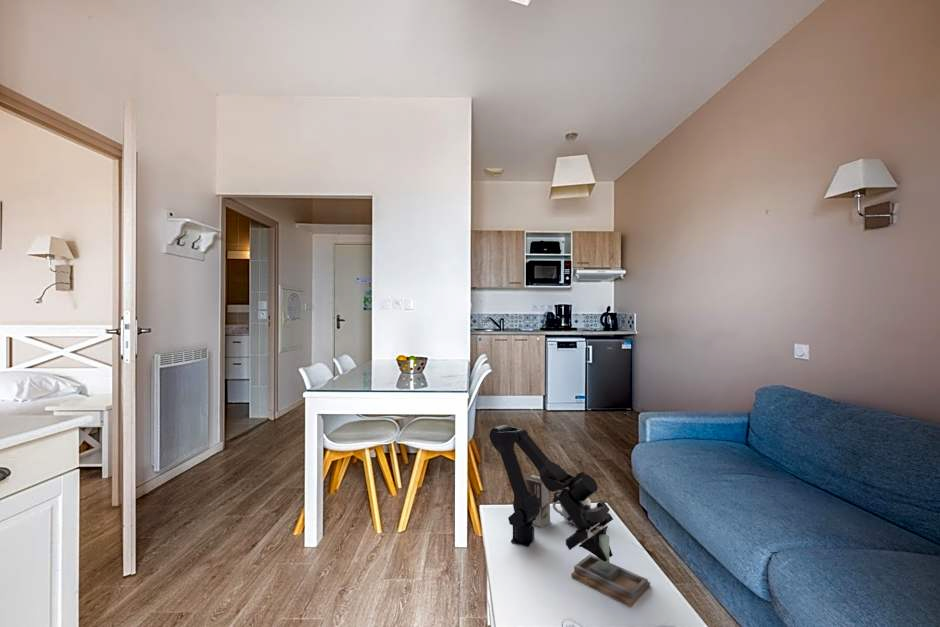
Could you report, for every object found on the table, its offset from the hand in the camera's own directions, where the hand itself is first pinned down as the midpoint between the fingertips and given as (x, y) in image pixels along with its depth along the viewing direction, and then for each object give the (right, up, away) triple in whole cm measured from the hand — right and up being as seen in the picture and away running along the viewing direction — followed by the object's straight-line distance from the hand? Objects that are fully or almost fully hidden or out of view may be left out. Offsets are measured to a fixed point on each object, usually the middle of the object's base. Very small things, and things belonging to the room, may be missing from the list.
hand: (608, 558), depth 124 cm
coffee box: (-15, -7, +36) cm, 40 cm away
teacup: (-2, -7, +36) cm, 37 cm away
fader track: (0, -7, 0) cm, 7 cm away
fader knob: (-1, -5, +1) cm, 5 cm away
